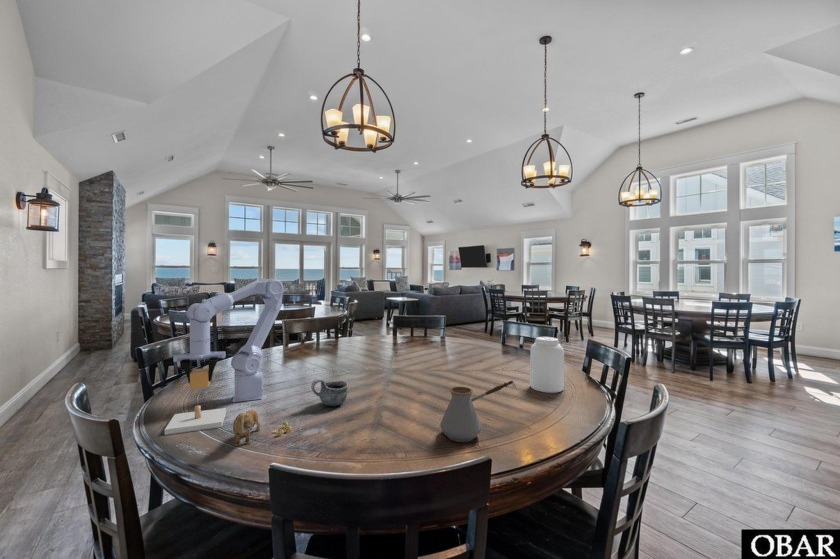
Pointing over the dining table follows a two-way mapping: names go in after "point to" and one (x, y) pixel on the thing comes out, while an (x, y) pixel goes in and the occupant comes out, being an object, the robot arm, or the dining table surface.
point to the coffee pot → (464, 414)
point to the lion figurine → (245, 425)
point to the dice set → (283, 429)
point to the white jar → (547, 365)
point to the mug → (331, 391)
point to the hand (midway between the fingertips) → (200, 381)
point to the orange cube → (199, 378)
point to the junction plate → (196, 420)
